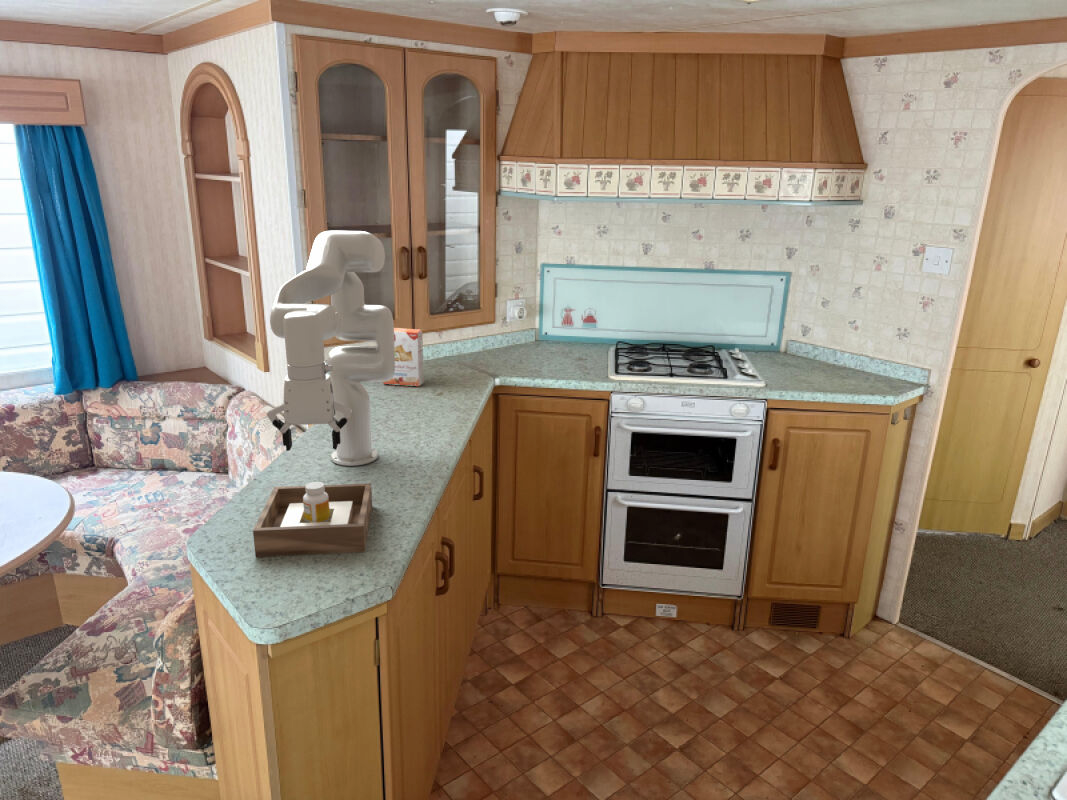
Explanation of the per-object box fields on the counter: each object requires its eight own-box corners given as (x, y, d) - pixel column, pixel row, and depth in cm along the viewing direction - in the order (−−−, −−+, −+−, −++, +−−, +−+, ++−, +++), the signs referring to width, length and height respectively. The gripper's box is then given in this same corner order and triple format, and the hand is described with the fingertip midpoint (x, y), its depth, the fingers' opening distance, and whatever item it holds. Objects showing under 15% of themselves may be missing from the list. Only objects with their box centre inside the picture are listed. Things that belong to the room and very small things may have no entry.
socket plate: (290, 513, 170) (289, 503, 170) (353, 510, 172) (352, 501, 172) (279, 542, 157) (278, 531, 156) (346, 539, 159) (346, 528, 158)
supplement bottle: (332, 520, 168) (330, 480, 165) (327, 531, 162) (324, 490, 160) (308, 520, 167) (305, 480, 164) (302, 531, 162) (299, 490, 159)
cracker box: (382, 385, 275) (380, 329, 269) (388, 381, 281) (386, 326, 274) (419, 388, 273) (417, 332, 267) (424, 383, 279) (422, 328, 272)
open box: (276, 510, 174) (274, 486, 172) (372, 506, 177) (371, 483, 175) (255, 557, 153) (252, 530, 151) (364, 551, 156) (363, 526, 154)
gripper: (351, 365, 159) (355, 440, 164) (266, 366, 157) (274, 442, 162) (347, 375, 152) (352, 453, 157) (259, 377, 150) (267, 455, 155)
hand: (312, 447), depth 160 cm, fingers open, 9 cm apart
